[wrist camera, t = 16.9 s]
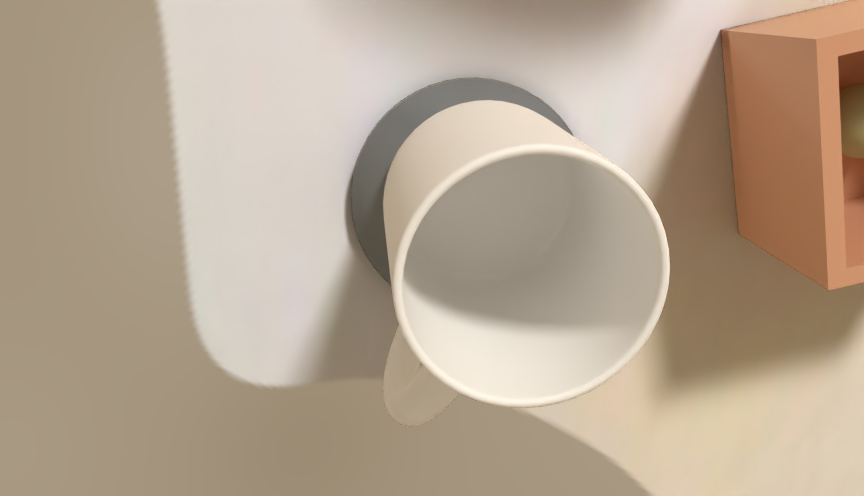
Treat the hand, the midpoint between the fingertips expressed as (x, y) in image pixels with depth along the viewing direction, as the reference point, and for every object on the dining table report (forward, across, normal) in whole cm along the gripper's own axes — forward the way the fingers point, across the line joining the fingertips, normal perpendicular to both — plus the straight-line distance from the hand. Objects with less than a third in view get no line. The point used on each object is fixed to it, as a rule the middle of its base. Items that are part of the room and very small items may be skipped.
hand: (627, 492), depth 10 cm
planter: (+23, +17, -2) cm, 29 cm away
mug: (+23, 0, -4) cm, 23 cm away
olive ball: (+22, +17, -2) cm, 28 cm away
